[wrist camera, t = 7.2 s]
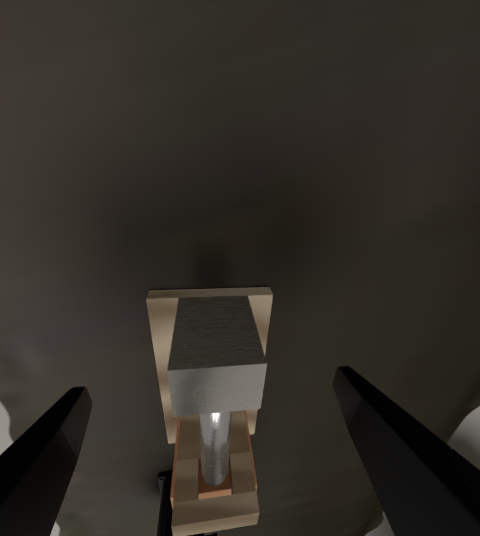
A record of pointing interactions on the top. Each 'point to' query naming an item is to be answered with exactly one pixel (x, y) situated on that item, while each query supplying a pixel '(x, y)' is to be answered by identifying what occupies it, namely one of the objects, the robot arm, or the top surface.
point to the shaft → (215, 371)
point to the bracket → (189, 451)
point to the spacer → (204, 488)
